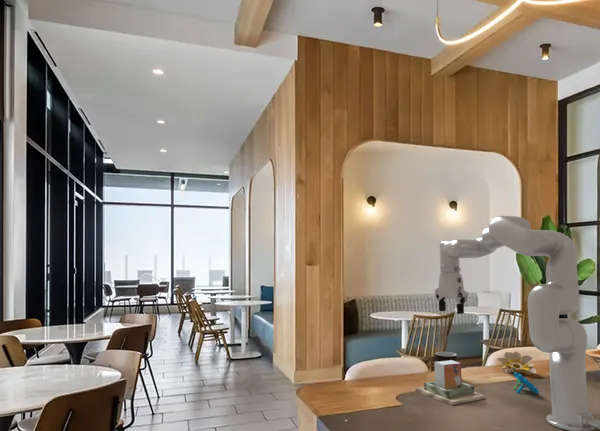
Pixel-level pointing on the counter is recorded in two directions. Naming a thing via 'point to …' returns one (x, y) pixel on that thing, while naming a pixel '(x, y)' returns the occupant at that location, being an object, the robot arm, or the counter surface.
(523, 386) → the gear
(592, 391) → the counter surface
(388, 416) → the counter surface
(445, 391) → the jig
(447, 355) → the coffee mug
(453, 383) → the small box
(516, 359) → the decorative flower
